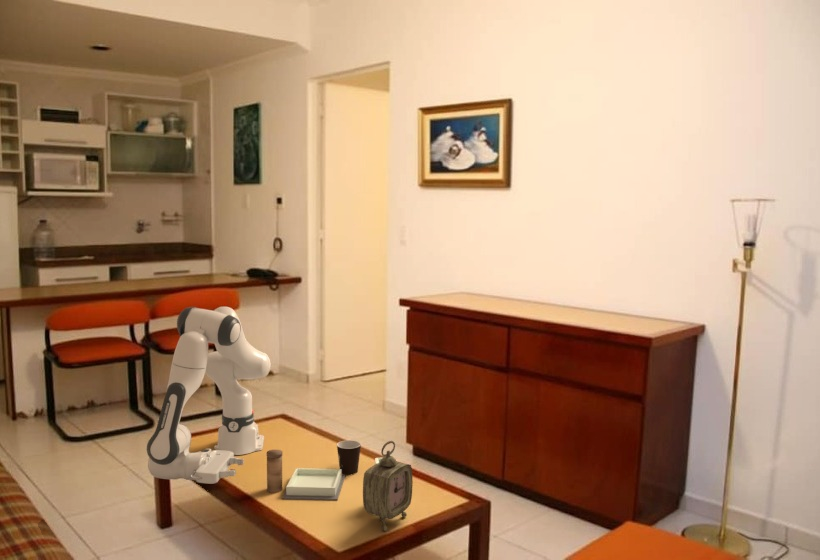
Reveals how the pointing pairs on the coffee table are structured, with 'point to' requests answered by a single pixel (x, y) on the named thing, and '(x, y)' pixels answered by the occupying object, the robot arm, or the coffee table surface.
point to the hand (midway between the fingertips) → (239, 467)
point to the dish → (314, 482)
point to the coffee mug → (349, 456)
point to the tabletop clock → (387, 487)
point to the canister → (274, 471)
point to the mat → (303, 497)
